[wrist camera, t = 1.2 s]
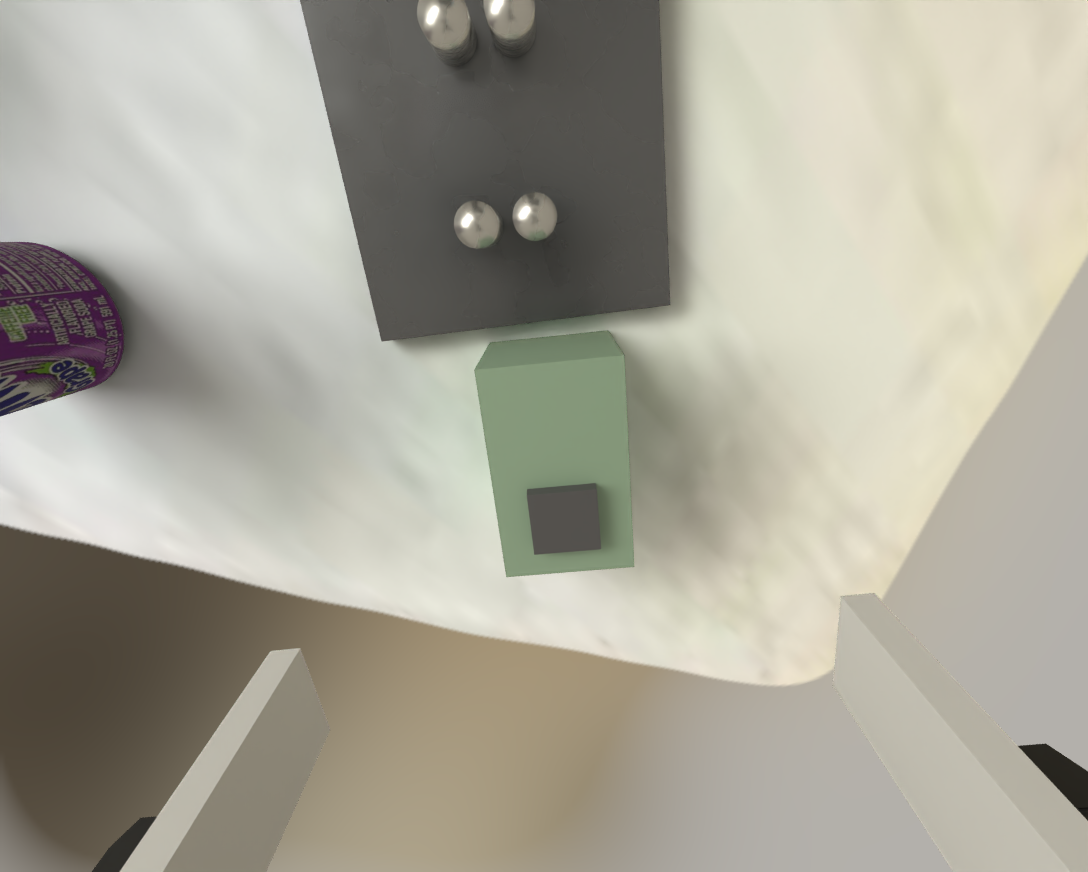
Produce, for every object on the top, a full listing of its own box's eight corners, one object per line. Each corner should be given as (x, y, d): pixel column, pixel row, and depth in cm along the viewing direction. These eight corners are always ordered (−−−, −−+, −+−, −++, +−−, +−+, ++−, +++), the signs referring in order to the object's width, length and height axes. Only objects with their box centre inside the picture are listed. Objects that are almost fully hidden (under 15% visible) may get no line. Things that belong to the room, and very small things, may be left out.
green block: (490, 342, 26) (472, 373, 20) (607, 330, 26) (626, 358, 20) (514, 513, 30) (505, 585, 23) (618, 504, 29) (636, 574, 23)
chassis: (293, -65, 20) (243, -124, 17) (648, -126, 19) (668, -200, 16) (387, 337, 26) (364, 351, 23) (665, 302, 25) (683, 311, 22)
